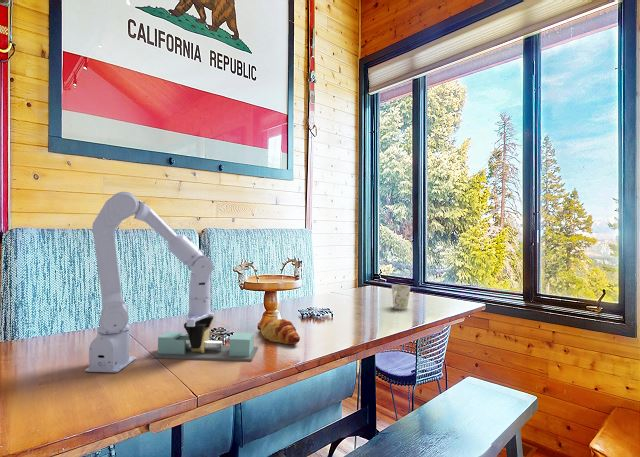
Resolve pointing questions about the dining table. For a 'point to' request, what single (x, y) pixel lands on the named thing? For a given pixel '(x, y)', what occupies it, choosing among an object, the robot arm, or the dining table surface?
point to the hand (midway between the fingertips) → (198, 345)
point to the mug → (400, 296)
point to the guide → (176, 349)
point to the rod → (205, 343)
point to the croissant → (280, 331)
